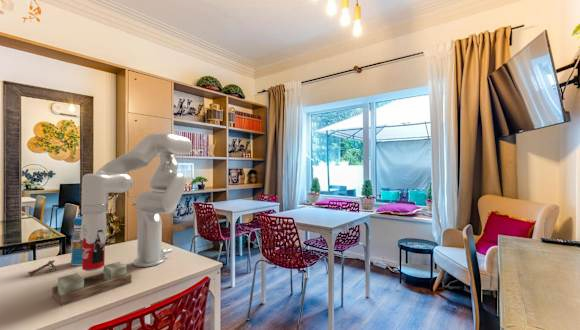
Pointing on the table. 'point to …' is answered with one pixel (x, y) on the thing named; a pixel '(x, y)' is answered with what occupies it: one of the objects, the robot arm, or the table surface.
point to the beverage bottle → (76, 243)
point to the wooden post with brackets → (43, 268)
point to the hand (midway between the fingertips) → (93, 259)
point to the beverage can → (90, 257)
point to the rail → (90, 283)
